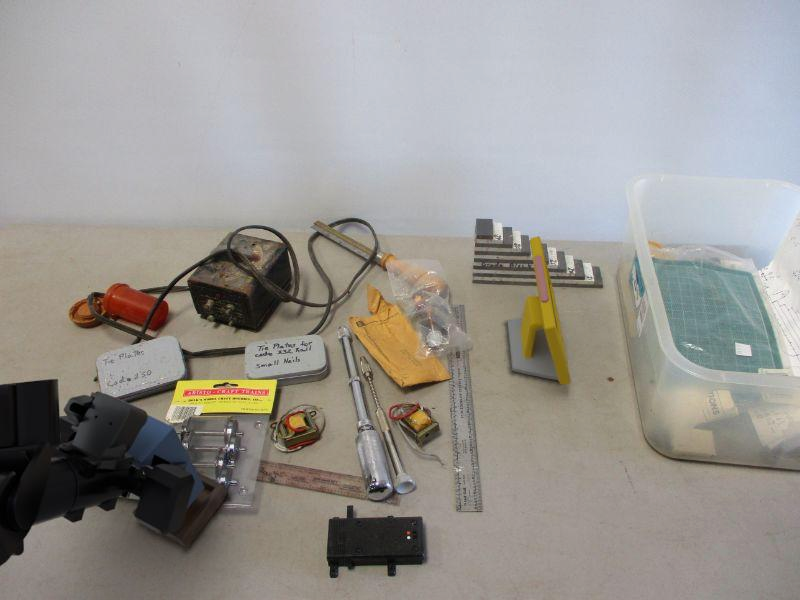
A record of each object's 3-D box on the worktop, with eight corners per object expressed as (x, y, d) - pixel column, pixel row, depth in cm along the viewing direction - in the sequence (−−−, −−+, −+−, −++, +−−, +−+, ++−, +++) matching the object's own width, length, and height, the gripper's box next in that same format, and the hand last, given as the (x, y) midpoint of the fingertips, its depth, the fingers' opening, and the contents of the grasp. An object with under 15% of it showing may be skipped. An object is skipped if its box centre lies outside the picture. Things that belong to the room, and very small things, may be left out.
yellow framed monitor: (566, 398, 89) (587, 325, 78) (514, 395, 90) (527, 324, 79) (550, 306, 104) (566, 234, 93) (505, 304, 104) (515, 233, 93)
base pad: (188, 550, 73) (181, 540, 71) (139, 523, 76) (131, 512, 74) (228, 496, 79) (223, 484, 77) (181, 472, 81) (175, 461, 79)
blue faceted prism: (177, 521, 72) (141, 462, 63) (147, 504, 74) (108, 445, 65) (204, 487, 75) (174, 427, 66) (175, 472, 77) (141, 411, 68)
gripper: (152, 443, 53) (250, 422, 68) (11, 374, 59) (129, 369, 74) (117, 560, 53) (222, 513, 68) (-19, 479, 59) (104, 453, 74)
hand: (168, 458), depth 71 cm, fingers closed on blue faceted prism, 5 cm apart
